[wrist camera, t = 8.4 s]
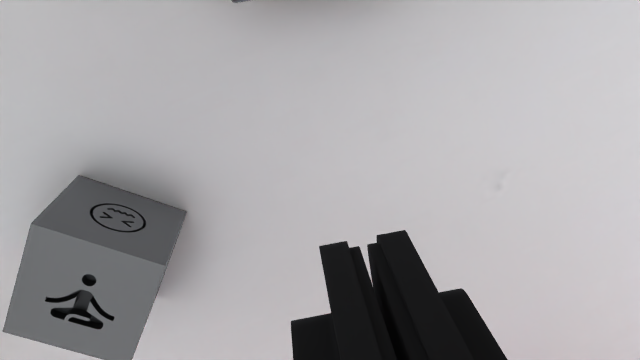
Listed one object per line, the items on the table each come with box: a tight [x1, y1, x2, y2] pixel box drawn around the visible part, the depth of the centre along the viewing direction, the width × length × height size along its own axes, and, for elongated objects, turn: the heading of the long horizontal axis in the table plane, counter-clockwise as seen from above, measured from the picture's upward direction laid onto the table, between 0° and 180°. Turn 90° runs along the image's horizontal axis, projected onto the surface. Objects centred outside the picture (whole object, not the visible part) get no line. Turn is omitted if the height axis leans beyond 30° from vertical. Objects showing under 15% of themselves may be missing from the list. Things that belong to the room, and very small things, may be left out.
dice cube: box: [3, 175, 187, 360], centre depth 23 cm, size 5×5×5 cm
